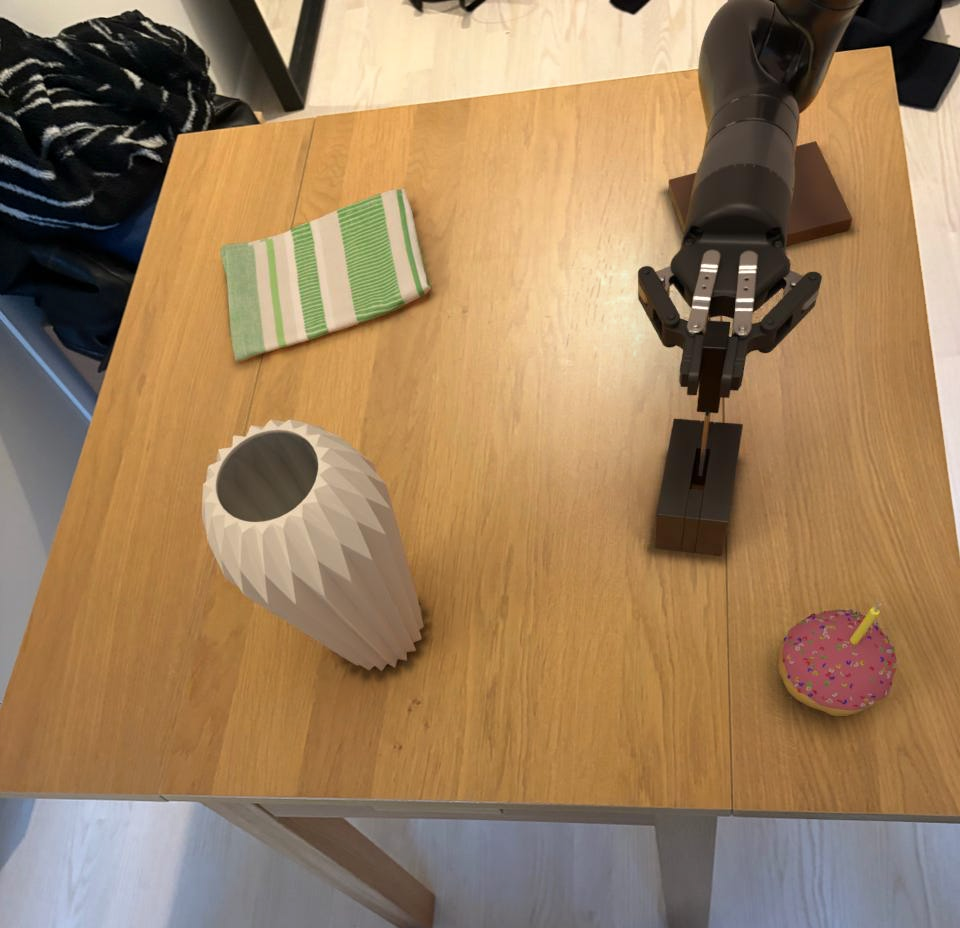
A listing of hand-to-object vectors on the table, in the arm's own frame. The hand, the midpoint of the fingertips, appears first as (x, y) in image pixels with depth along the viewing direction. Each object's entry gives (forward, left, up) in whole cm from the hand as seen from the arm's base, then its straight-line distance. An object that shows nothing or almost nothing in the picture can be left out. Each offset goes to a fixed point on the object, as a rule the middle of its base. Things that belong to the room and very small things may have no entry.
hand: (709, 388), depth 57 cm
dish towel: (+32, -43, -21) cm, 57 cm away
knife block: (-1, -3, -20) cm, 21 cm away
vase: (+30, +3, -21) cm, 36 cm away
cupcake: (-7, +16, -21) cm, 27 cm away
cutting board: (-16, -37, -20) cm, 45 cm away
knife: (-1, -3, -13) cm, 13 cm away
